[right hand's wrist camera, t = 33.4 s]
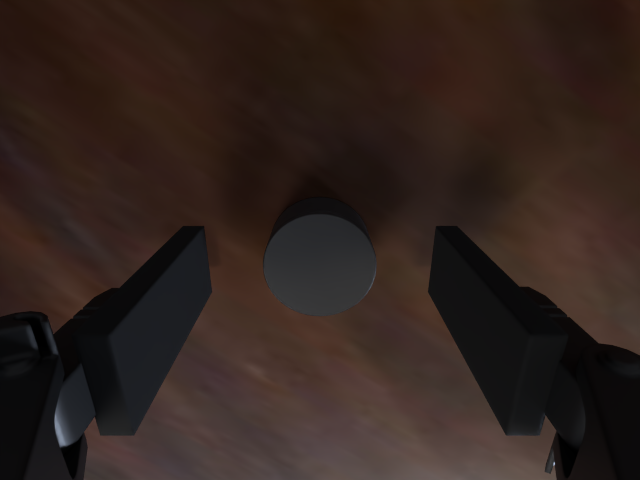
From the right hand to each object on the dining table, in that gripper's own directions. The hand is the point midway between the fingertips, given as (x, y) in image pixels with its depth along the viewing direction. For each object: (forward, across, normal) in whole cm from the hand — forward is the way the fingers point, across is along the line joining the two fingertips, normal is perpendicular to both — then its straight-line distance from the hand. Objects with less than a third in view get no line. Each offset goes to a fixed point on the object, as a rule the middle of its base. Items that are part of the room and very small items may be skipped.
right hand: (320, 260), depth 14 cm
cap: (0, 0, 0) cm, 0 cm away
